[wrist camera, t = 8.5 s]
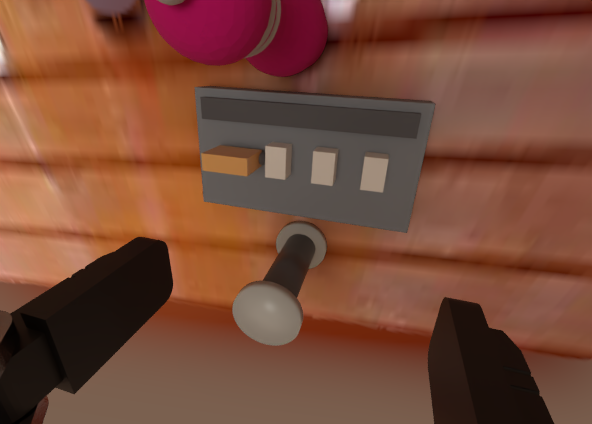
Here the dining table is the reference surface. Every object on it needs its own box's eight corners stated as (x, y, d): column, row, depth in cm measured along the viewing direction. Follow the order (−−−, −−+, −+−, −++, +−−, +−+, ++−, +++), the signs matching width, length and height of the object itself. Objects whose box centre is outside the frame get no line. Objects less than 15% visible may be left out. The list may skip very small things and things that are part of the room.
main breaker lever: (266, 149, 31) (251, 159, 27) (266, 165, 31) (251, 177, 28) (218, 144, 32) (197, 152, 28) (219, 159, 32) (198, 170, 29)
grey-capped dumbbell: (329, 225, 36) (302, 296, 24) (324, 268, 38) (298, 352, 27) (279, 217, 37) (231, 281, 26) (278, 260, 40) (233, 336, 28)
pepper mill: (325, 82, 30) (237, 93, 12) (254, 70, 31) (82, 64, 14) (341, -8, 27) (253, -167, 9) (262, -18, 28) (50, -174, 10)
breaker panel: (430, 101, 28) (439, 106, 24) (405, 220, 33) (408, 242, 29) (210, 86, 33) (182, 87, 29) (216, 192, 38) (194, 208, 34)
